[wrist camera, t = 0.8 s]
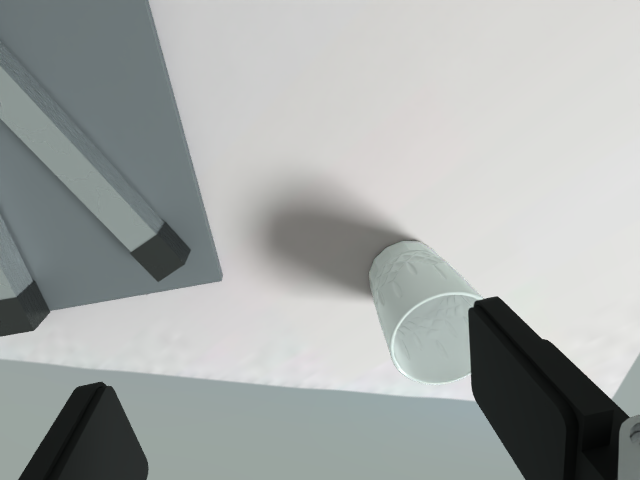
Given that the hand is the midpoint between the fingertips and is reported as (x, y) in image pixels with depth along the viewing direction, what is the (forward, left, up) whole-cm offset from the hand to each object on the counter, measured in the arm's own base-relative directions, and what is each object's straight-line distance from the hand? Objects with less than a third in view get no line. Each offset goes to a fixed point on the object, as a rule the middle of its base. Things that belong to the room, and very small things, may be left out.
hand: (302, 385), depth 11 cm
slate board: (-4, -17, -24) cm, 30 cm away
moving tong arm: (-5, -16, -23) cm, 29 cm away
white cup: (+12, +9, -25) cm, 29 cm away
